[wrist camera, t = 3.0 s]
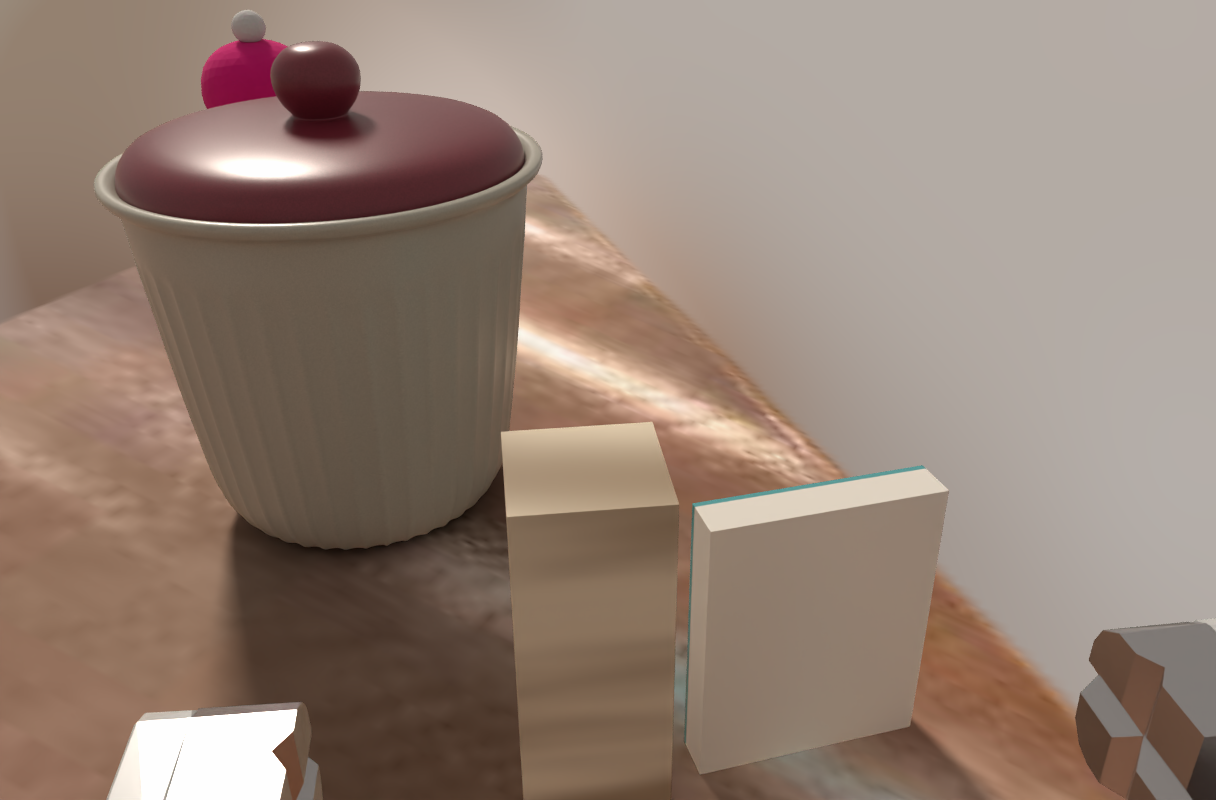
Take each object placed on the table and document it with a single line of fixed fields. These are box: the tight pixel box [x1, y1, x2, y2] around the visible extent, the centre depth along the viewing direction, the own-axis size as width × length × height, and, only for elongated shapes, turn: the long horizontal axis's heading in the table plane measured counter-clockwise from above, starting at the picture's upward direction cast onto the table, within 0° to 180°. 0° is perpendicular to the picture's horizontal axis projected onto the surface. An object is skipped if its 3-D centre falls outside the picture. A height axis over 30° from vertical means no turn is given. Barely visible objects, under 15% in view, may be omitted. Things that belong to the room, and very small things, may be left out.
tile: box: [684, 466, 949, 775], centre depth 36 cm, size 2×8×10 cm, turn 106°
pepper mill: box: [201, 10, 288, 109], centre depth 63 cm, size 7×7×20 cm
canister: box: [94, 41, 542, 550], centre depth 48 cm, size 18×18×21 cm
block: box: [501, 422, 679, 800], centre depth 28 cm, size 4×4×16 cm
